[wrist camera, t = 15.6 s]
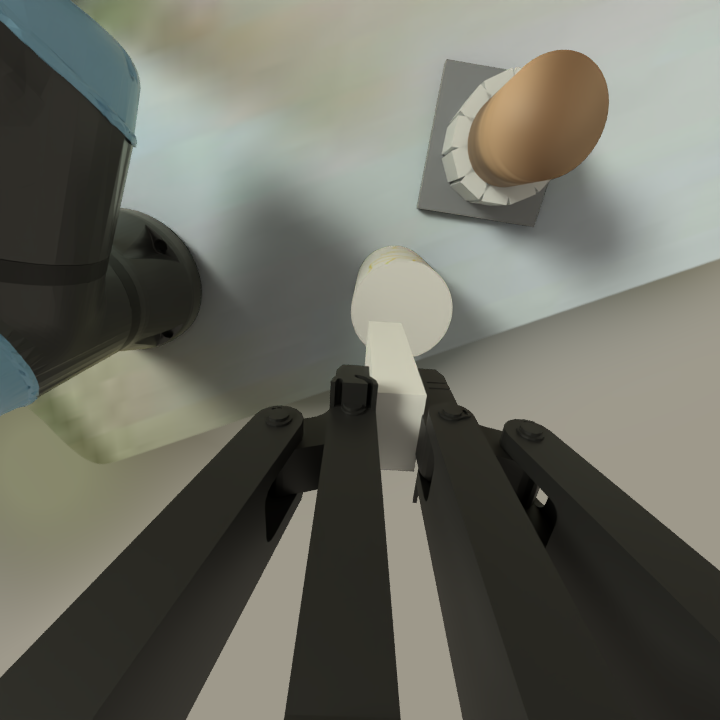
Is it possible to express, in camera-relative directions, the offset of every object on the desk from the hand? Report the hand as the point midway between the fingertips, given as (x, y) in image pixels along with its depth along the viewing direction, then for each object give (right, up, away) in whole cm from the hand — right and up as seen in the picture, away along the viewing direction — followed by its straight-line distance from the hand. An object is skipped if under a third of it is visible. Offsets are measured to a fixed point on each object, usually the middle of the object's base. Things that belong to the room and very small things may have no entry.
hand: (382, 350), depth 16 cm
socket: (+12, +20, +18) cm, 29 cm away
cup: (+3, +8, +23) cm, 25 cm away
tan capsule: (+11, +19, +16) cm, 28 cm away
